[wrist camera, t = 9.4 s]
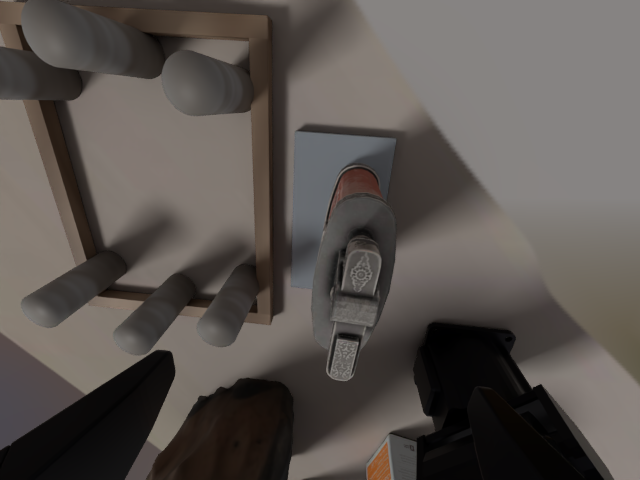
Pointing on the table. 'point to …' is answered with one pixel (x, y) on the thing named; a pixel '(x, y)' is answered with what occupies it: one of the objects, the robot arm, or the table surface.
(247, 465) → the owl
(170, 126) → the table surface
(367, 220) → the lighter
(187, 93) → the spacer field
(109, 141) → the table surface
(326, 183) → the mat
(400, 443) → the skincare box
